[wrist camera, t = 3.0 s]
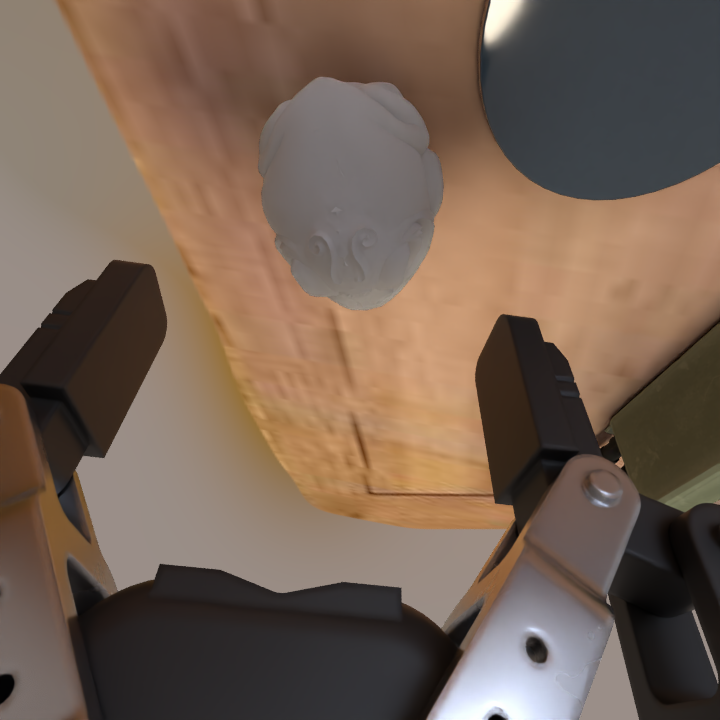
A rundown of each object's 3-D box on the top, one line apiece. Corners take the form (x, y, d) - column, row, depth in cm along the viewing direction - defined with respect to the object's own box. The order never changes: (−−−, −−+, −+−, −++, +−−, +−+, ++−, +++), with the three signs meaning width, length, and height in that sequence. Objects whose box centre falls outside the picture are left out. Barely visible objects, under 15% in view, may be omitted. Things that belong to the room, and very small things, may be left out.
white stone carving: (306, 237, 20) (278, 347, 15) (248, 58, 15) (180, 140, 10) (442, 216, 19) (457, 329, 14) (428, 16, 14) (443, 86, 9)
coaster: (576, -339, 9) (584, -348, 9) (1042, -229, 10) (1068, -233, 10) (439, 170, 17) (440, 177, 17) (702, 212, 18) (709, 220, 18)
